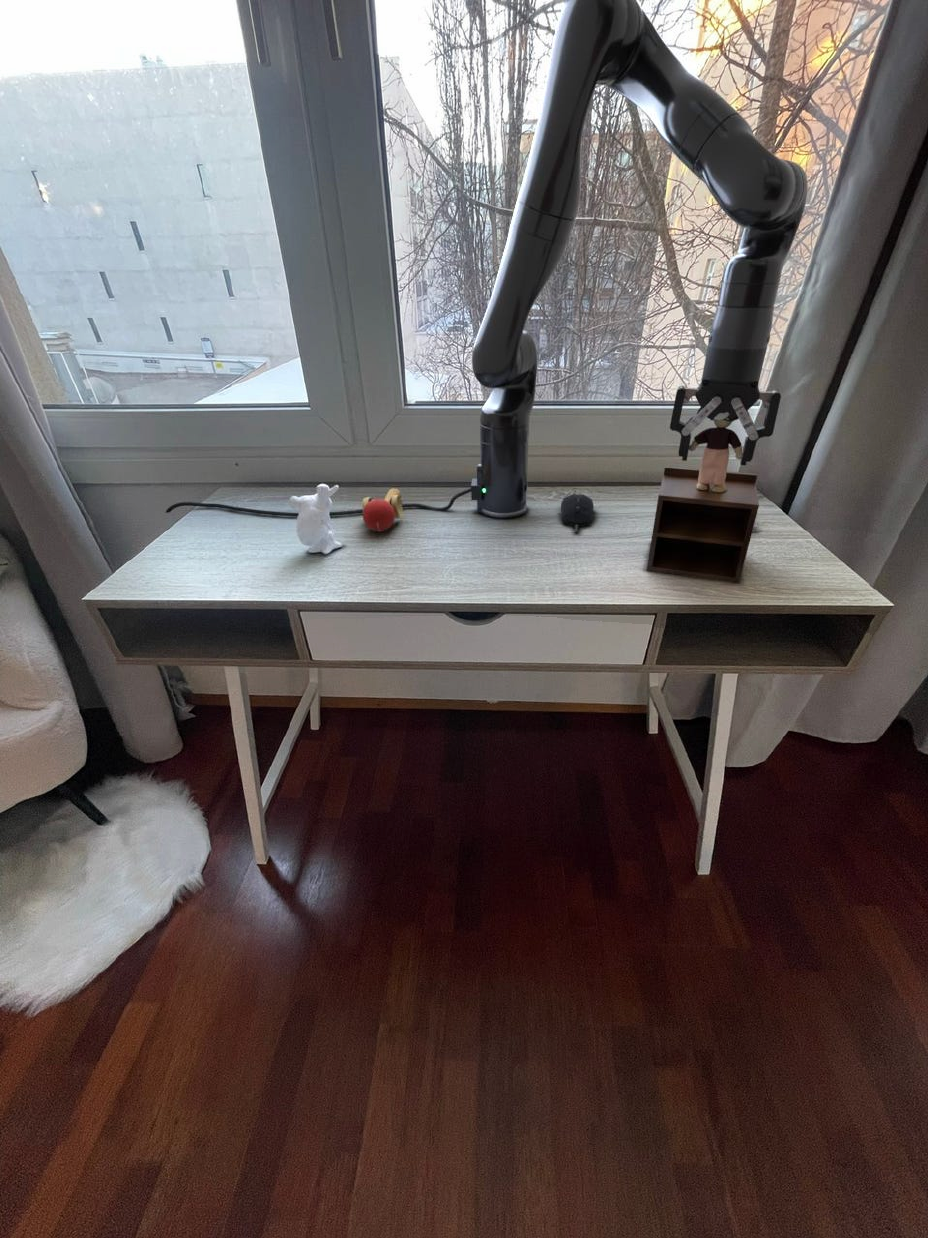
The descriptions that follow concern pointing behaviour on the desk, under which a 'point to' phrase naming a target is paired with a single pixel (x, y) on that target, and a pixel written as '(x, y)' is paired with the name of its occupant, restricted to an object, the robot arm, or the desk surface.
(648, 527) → the desk surface
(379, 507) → the kendama
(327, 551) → the white sculpted figure
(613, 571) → the desk surface
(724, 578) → the rack
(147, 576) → the desk surface
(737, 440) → the grandmother figurine
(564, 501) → the gaming mouse
